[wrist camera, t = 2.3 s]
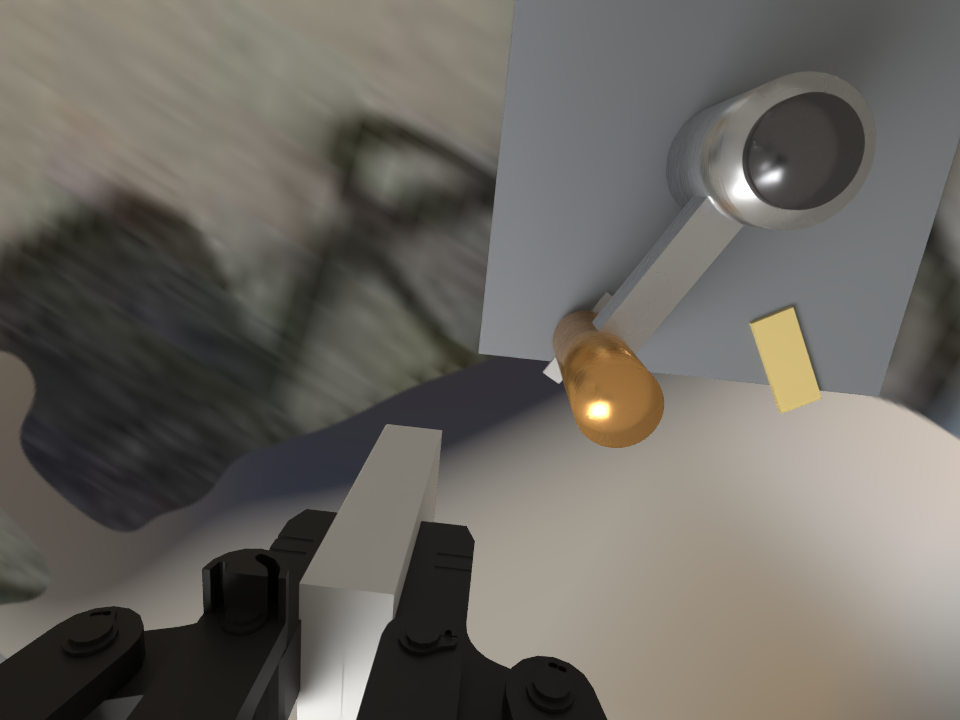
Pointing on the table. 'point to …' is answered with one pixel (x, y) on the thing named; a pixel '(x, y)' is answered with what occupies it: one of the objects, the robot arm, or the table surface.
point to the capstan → (715, 230)
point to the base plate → (651, 208)
